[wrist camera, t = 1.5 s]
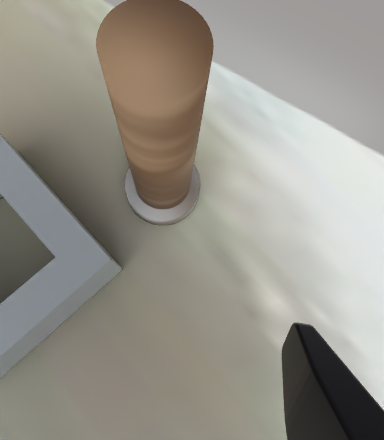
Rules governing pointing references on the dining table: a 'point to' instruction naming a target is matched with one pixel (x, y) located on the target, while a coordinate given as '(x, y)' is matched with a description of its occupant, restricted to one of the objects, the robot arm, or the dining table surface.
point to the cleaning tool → (157, 100)
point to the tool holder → (55, 270)
